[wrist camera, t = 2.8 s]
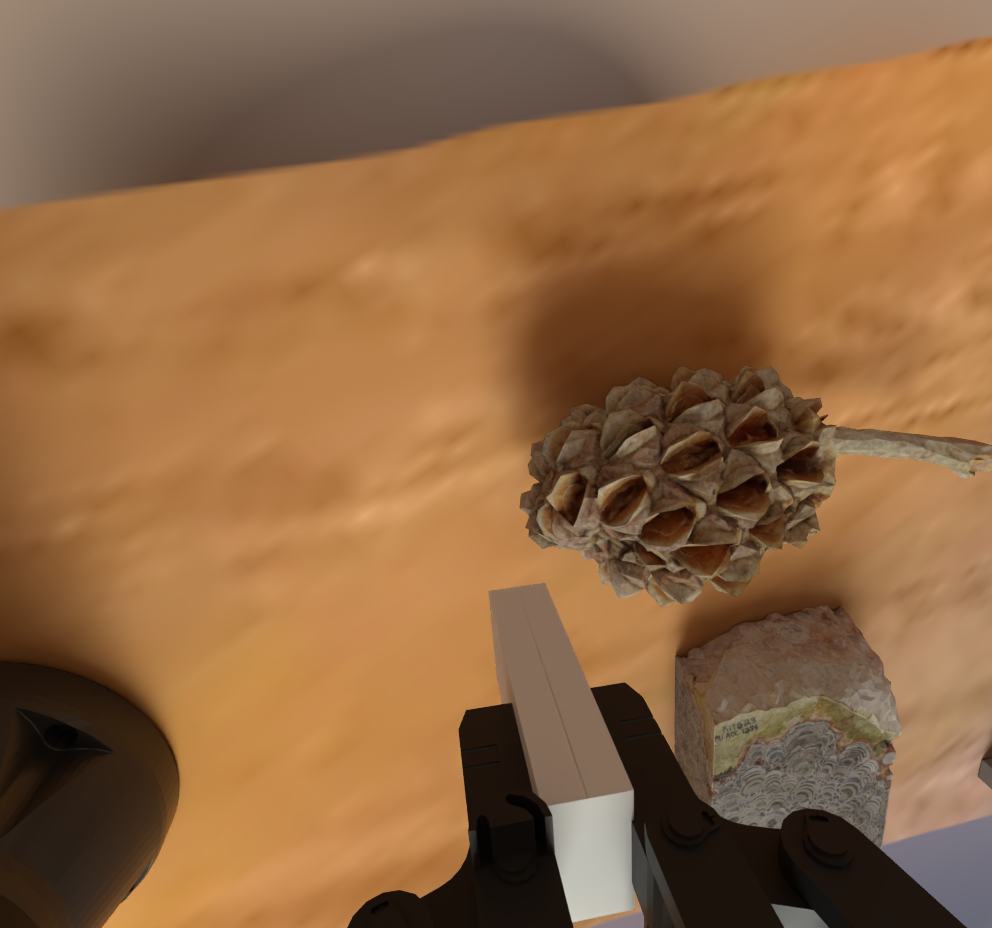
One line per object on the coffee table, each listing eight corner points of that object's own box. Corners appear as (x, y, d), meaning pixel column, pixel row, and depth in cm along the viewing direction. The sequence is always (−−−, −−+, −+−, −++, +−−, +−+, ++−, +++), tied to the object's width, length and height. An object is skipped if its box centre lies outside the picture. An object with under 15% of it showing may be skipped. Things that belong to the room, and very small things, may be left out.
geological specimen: (708, 905, 34) (715, 706, 28) (666, 809, 40) (665, 627, 34) (883, 867, 35) (924, 666, 29) (818, 778, 41) (842, 595, 35)
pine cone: (512, 558, 31) (560, 687, 21) (489, 374, 27) (535, 430, 18) (903, 488, 33) (1102, 577, 23) (925, 310, 30) (1165, 332, 20)
